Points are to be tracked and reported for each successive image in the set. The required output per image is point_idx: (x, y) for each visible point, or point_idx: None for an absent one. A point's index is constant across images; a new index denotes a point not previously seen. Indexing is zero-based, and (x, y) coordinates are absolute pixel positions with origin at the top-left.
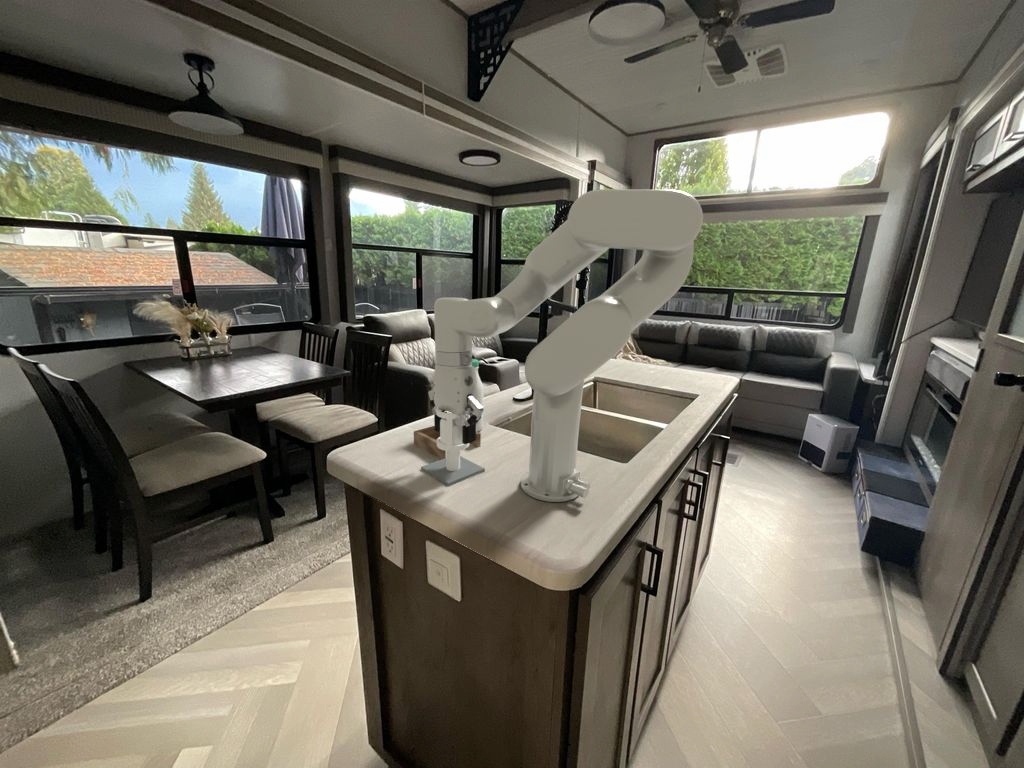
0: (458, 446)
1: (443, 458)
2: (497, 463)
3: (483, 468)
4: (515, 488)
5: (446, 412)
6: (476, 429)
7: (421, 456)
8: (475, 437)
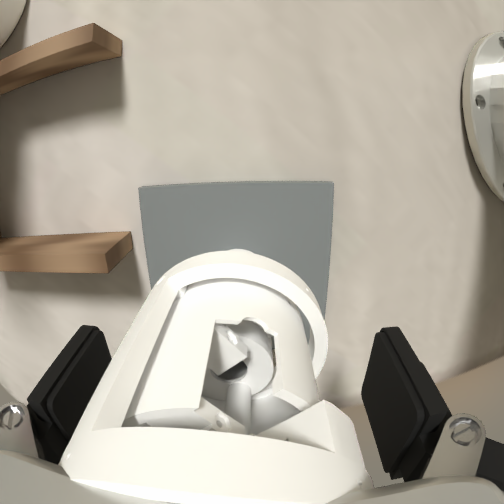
0: (317, 371)
1: (130, 242)
2: (313, 88)
3: (329, 185)
4: (475, 197)
5: (44, 407)
6: (20, 2)
7: (77, 287)
8: (402, 337)
